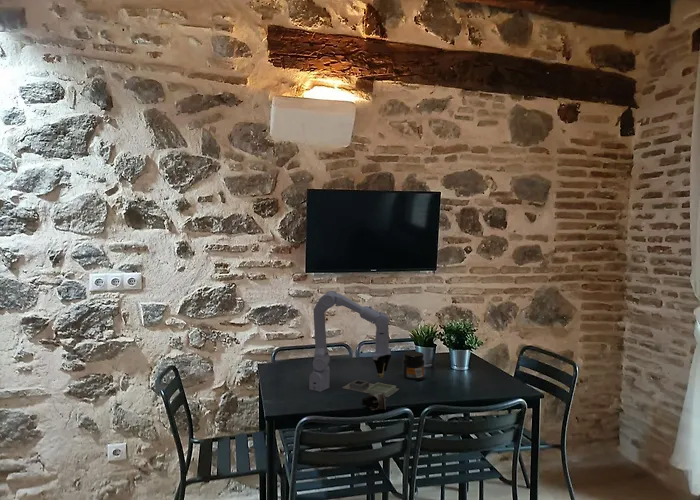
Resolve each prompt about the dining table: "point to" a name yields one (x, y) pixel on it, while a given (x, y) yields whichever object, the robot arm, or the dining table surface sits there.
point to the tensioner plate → (366, 389)
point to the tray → (381, 388)
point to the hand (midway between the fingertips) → (381, 372)
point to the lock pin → (382, 373)
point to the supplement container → (413, 365)
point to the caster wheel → (375, 401)
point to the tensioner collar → (359, 384)
